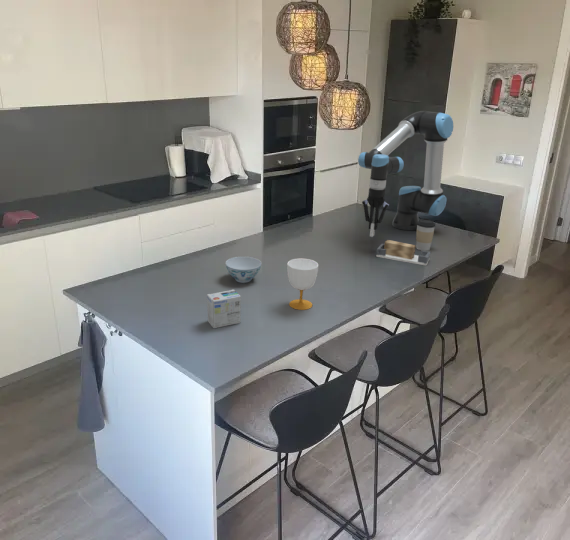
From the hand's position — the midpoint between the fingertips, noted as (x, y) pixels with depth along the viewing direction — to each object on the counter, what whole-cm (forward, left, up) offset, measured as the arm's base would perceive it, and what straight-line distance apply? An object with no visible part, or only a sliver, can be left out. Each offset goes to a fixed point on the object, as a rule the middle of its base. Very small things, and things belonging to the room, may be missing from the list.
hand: (371, 235), depth 262 cm
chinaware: (+60, -39, -9) cm, 72 cm away
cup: (+71, -8, -9) cm, 72 cm away
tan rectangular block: (0, +14, -8) cm, 16 cm away
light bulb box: (+97, -27, -9) cm, 101 cm away
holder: (0, +16, -9) cm, 18 cm away
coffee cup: (-19, +22, -9) cm, 31 cm away
